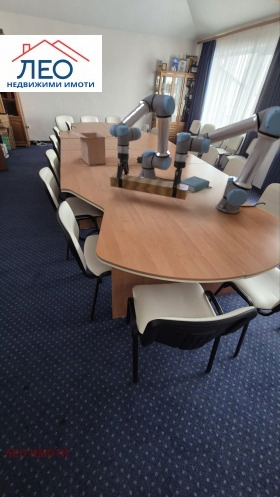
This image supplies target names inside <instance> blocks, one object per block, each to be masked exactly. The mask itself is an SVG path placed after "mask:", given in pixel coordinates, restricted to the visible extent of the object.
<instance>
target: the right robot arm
mask: <svg viewBox="0 0 280 497" xmlns="http://www.w3.org/2000/svg"><path fill="white" fill-rule="evenodd" d="M252 132H256V133H257V136H258V137H257V139H256V141H255V143H254V145H253V147H252V149H251V151H250V152H249V154H248V156H247V159H246V160H245V163H244V164H243V166H242V168H241V170H240V172H239V174H238V176H229V177H228V178H227V181H226V185H225V188H224V191H223V193H222V194H223V195H222V197H221V198H220V200H219V201H218V204H217V206H216V208H217V209H218V211H219V212H222V213H224V214H230V215H235V214H238V213H239V211H240V208H253V207H256V206H258V205H265V206H266V205H267V203H266V202H262V201H261V202H256V203H255V204H253V205H244V204H246V203H247V201H248V198H249V193H250V192H251V190H252V187H253V186H252V183H253V181H254V180H255V177H256V176H257V174H258V172H259V170H260V168H261V166H263V163H264V162H265V160H266V157H267V156H268V154H269V152H270V150H271V149H272V148H273V145H274V143H276V142H277V141H280V105H274V106H270V107H267V108H266V109H264V110H261V111H258V112H256V113H254V114H253V115H252V116H251V117H248V118H244V119H242V120H238V121H236V122H234V123H231V124H228V125H225V126H222V127H220V128H216V129H214V130H211V131H208V132H204V133H200V134H198V135H197V136H195V137H193V136H192V134H191V133H189V132H185V131H184V132H179V133H178V134H177V138H176V145H175V152H174V160H173V168H176V169H175V171H174V178H173V180H174V181H173V182H172V183H173V187H172V188H173V191H172V197H173V199H177V198H176V193H177V185H178V184H180V183H181V180H182V174H183V169H185V168H186V167H187V160H188V159H187V158H189V152H193V153H200V154H208V153H209V151H210V146H212V145H214V144H217V143H221V142H224V141H227V140H230V139H233V138H236V137H239V136H243V135H246V134H248V133H252ZM191 136H192V137H191ZM175 186H176V187H175ZM172 197H171V198H172Z"/></svg>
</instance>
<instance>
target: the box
mask: <svg viewBox="0 0 280 497" xmlns="http://www.w3.org/2000/svg"><path fill="white" fill-rule="evenodd" d="M70 133H71V134H72V135H74V136H75V137H77V138H79V144H80V153H81V160H83V162H85V163H86V165H87V166H95V165H97V166H98V165H106V163H107V162H106V158H107V157H106V138H113V137H114V136H112V135H111V134H110V133H108V132H105V131H98V132H96V131H95V130H92V129H91V130H77V132H76V131H70Z"/></svg>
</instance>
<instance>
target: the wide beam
mask: <svg viewBox="0 0 280 497" xmlns="http://www.w3.org/2000/svg"><path fill="white" fill-rule="evenodd" d="M124 174H125V173H123V174H122V188H121V189H123V190H128V191H134V192H140V193H144V194H150V195H157V196H162V197H167V198H171V199H172V198H173V197H172V191H173V188H172V187H173V183H174V182H172V181H166V180H158V179H148V178H142V177H139V176H136V175H129V174H128V175H124ZM109 182H110V187H112V188H118V189H120V188H119V187H118V178H117V172H115V173H114V174H112V175H111V176H110V177H109ZM175 187H176V186H175ZM188 188H189V185H183V184H178V185H177V193H176V198H175V199H176V200H177V199H178V200H183V201H186V198H187V197H188V193H189V191H188ZM173 199H174V198H173Z"/></svg>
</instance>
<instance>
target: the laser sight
mask: <svg viewBox="0 0 280 497" xmlns="http://www.w3.org/2000/svg"><path fill="white" fill-rule="evenodd" d="M142 156H143V153H141V156H137V158H136V161H137V162H136V163H140V164H142V158H143V157H142Z"/></svg>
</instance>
